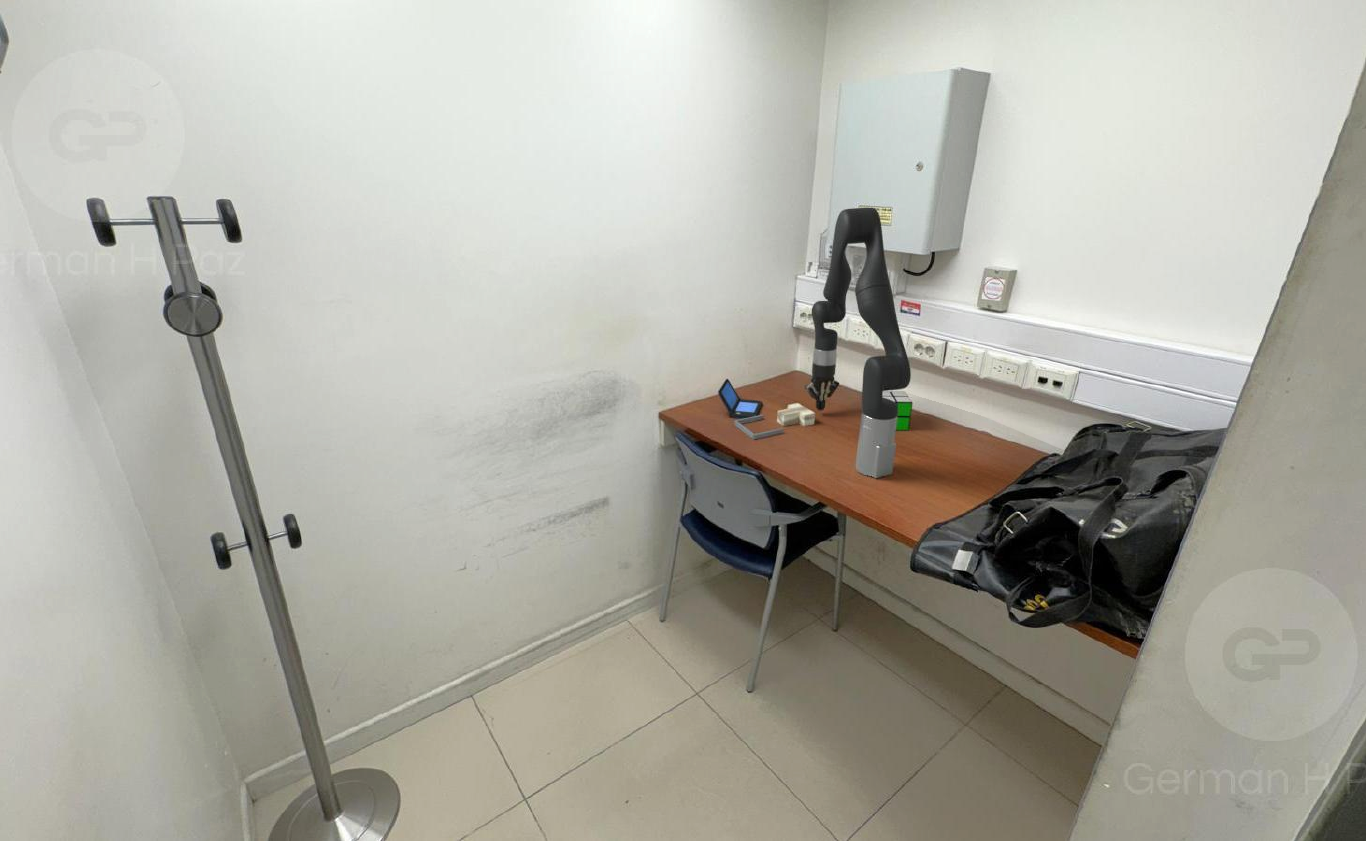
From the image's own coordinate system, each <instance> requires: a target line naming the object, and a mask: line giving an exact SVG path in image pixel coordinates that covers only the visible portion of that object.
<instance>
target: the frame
mask: <svg viewBox="0 0 1366 841" xmlns="http://www.w3.org/2000/svg"><path fill="white" fill-rule="evenodd" d="M763 420H764V415H763V414H758V415H757V416H754V417H749V418H738V419H736V420H733V426H735V427H736V428H737V429H738V430H740V431H742V432H743V433H745V434H746V435H747V436H748V437H750V438H751V439H752V440H754V441H755V440H759V439H763V438H767V437H771V436H776V435H780V434H784V428H782V427H781V428H777V429H773V430H767V431H763V432H762V431H761V432H759V433H753V432H752V431H751V430H749V429H748V428H747V427H745V426H744V425H743V424H748V423H753V422H758V421H763Z"/></svg>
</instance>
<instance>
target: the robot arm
mask: <svg viewBox="0 0 1366 841" xmlns="http://www.w3.org/2000/svg"><path fill="white" fill-rule="evenodd" d="M833 232H834V233H833V239H832V247H831V249H832V250H831V256H830V265H829V269H828V274H827V278H826V280H825V285H824V288H823V291H822V293H823V297H824V299H825V300H817V301H816V302H815V303H814V304H813V305H812V307H811V318H812V321H813V325H814V334H815V338H814V349H813V355H812V366H811V375H812V378H811V380H810V383H809V384H808V385H807V384H805V386H804V389H805V390H806V392H808V394H809V396H810V397H811V398H812V399H814V400H815V409H816V410H818V411H820V412H821V411H824V409H825V408H826V402H827V401H826V400H827V399H828V398H831V397H832V396H833V394H834V393H835V391H836V390H837V389H838V387H839V385H840V382H839V381H837V380H835V377H834V376H835V374H836V367H837V356H838V355H837V354H838V353H837V348H838V347H837V346H838V339H839V338H838V336H839V335H838V332H837V330H835V329H832V328H826V327H825V324H832V323H835V324H836V323H840V322H842V321H843V320H844V319H845V318H846V314H847V308H846V305H847V304H846V303H847V293H848V290H849V288H850V285H851V282H852V276H853V275H852V269H851V266H850V263H849V261H848V259H847V255H846V250H847V247H848V245H849V244H850V245H852V244H864V245H865V249H866V250H865V252H866V259H865V261H864V265H863V268H862V269H861V272H860V274H859V276H858V278H857V281H856V284H855V288H854V293H855V298H856V304H857V310H858V313H859V315H860V317H861V319H862V320H863V321H864V322H865V323H866V325H867V326H868V327H869V328H870V329H871V330H872V331H873V333H874V334H875V335H876V336H877V337H878V338H879V340H880V341H881V344H882V346H883V349H884V352H885V355H876V356H870V357H868V358H867V359H866V361H865V362H864V366H863V372H862V388H861V389H862V390H861V406H862V409H861V417H860V426H859V432H858V434H859V435H858V442H857V450H856V451H857V452H856V458H855V470H856V471H857V472H858V473H860V474H861V475H864V476H867V475H868V476H867V477H871V476H872V477H871V478H873V477H874V478H873V479H878V478H882V476H883V477H887V476H890V475H892V474H893V470H894V464H895V457H896V451H897V442H895V435H896V431H897V430H896V423H897V416H898V409H899V408H898V405H897V404H896V403H895V402H894V401H892V400H889V399H886V398H883V396H882V395H883V391H898V390H899V391H900V390H904V389H905V388H907V387H908V386H909V385H910V382H911V376H912V373H911V371H912V370H911V364H910V360H909V357H908V354H907V351H906V348H905V344H904V341H903V337H902V334H901V330H900V327H899V321H898V317H897V314H896V308H895V301H894V297H893V296H894V294H893V290H892V287H891V282H890V278H889V272H888V268H887V262H886V256H885V247H884V240H883V228H882V222H881V217H880V214H879V212H878V210H877V209H876V208H874V207H856V208H855V207H854V208H853V207H852V208H847V209H843V210H841V211H840V212H839V214H838V216H837V219H836V221H835V227H834V231H833Z"/></svg>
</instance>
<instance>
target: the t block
mask: <svg viewBox="0 0 1366 841" xmlns="http://www.w3.org/2000/svg"><path fill="white" fill-rule="evenodd" d="M815 417H816V413H815V412H814V411H812V410H811V409H808V408H807V407H805V406H803V405H801V403H798V402H796V403H791V404H790V403H789V404H787V408H785V409H780V410H777V417H776V422H777V423H778V424H780V425H781V426H783V427H787V426H791V425H795V424H796V425H797V424H800V425H801V426H803V427H808V426H811V425H815V421H816V420H815Z"/></svg>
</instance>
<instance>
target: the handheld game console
mask: <svg viewBox="0 0 1366 841" xmlns="http://www.w3.org/2000/svg"><path fill="white" fill-rule="evenodd" d="M717 394H718V396H719V398H720V400H721V401H722V404H723V405H724V406H725V409H726V410H727V411H728V412H727V413H729V414H728V417H729V418H734V419H744V418H749V417H754V416H759V412H760V411H761V407H762V405H763V402H762V400H757V399H756V400H755V399H747V398H746V399H745V398H741V397H740V396H739V394H738V393H737V391H736V390H735V388H734V386H733V385H732V383H731V381H730V380H729V379H728V378H726V379H725V380H724V382H723V383H722V385H721V386H720V387H719V389H718V391H717Z"/></svg>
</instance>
